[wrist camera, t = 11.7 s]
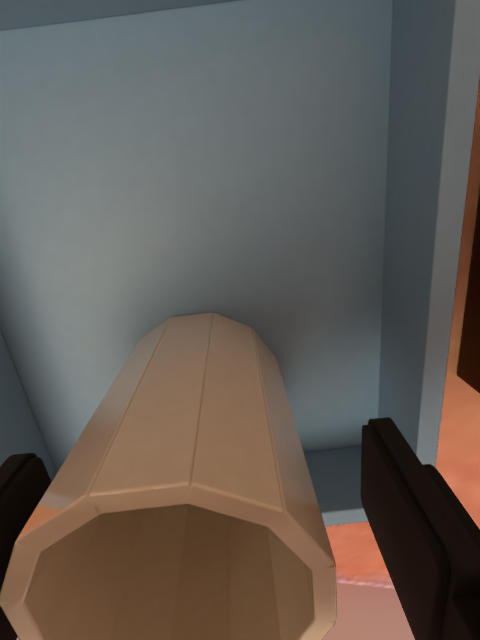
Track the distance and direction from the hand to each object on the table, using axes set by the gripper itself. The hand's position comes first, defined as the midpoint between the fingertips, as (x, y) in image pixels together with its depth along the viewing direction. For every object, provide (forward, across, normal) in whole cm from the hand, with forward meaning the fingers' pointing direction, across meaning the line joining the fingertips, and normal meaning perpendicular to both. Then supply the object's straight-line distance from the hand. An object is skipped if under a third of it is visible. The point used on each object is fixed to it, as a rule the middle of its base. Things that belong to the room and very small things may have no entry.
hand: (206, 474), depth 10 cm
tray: (+6, +1, -4) cm, 8 cm away
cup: (+6, +1, 0) cm, 6 cm away
